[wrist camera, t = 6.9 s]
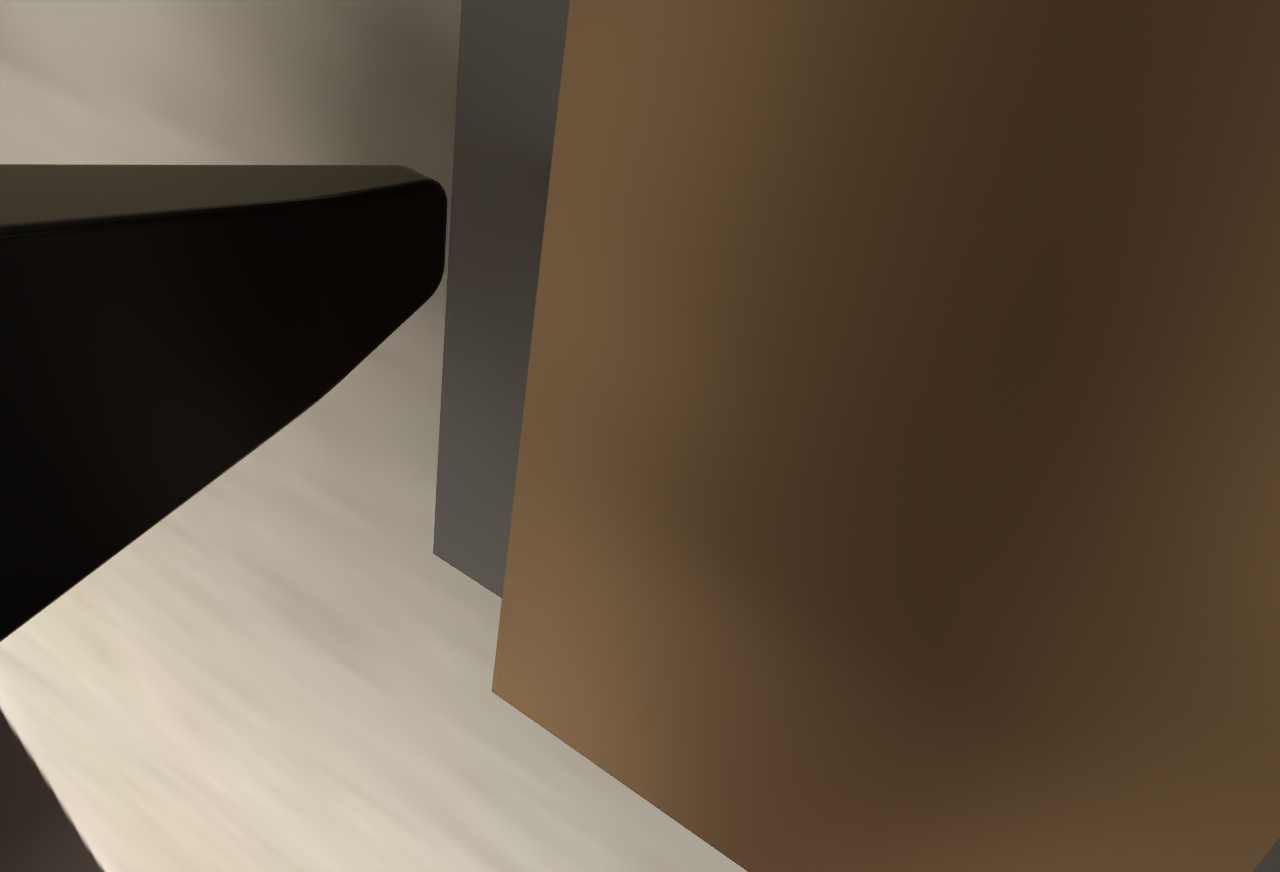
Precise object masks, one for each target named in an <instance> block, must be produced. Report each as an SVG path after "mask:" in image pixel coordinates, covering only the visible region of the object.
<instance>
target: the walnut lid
mask: <svg viewBox="0 0 1280 872" xmlns="http://www.w3.org/2000/svg"><path fill="white" fill-rule="evenodd" d="M492 692H493V693H495V694H496V695H498V696H499V697H500V698H502V699H503V700H505V701H506V702H508V703H509V704H510V705H512V706H513V707H515V708H516V709H518V710H519V711H520V712H522V713H523V714H525V715H526V716H527V717H529V718H530V719H532V720H533V721H535V722H536V723H537V724H539V725H540V726H542V727H543V728H545V729H546V730H547V731H549V732H550V733H552V734H553V735H554V736H556V737H557V738H559V739H560V740H562V741H563V742H564V743H566V744H567V745H569V746H570V747H572V748H573V749H574V750H576V751H577V752H579V753H580V754H582V755H583V756H584V757H586V758H587V759H589V760H590V761H591V762H593V763H594V764H596V765H597V766H599V767H600V768H601V769H603V770H604V771H606V772H607V773H609V774H610V775H611V776H613V777H614V778H616V779H617V780H618V781H620V782H621V783H623V784H624V785H626V786H627V787H628V788H630V789H631V790H633V791H634V792H636V793H637V794H638V795H640V796H641V797H643V798H644V799H645V800H647V801H648V802H650V803H651V804H653V805H654V806H655V807H657V808H658V809H660V810H661V811H663V812H664V813H665V814H667V815H668V816H670V817H671V818H673V819H674V820H675V821H677V822H678V823H680V824H681V825H682V826H684V827H685V828H687V829H688V830H690V831H691V832H692V833H694V834H695V835H697V836H698V837H700V838H701V839H702V840H704V841H705V842H707V843H708V844H709V845H711V846H712V847H714V848H715V849H717V850H718V851H719V852H721V853H722V854H724V855H725V856H727V857H728V858H729V859H731V860H732V861H734V862H735V863H736V864H738V865H739V866H741V867H742V868H744V869H745V870H746V871H748V872H1253V870H1254V869H1255V868H1256V866H1257V865H1258V864H1259V863H1260V861H1261V860H1262V859H1263V858H1264V856H1265V855H1266V854H1267V853H1268V851H1269V850H1270V849H1271V848H1272V846H1273V845H1274V844H1275V843H1276V841H1277V840H1278V839H1279V838H1280V0H570V4H569V13H568V22H567V31H566V40H565V48H564V57H563V66H562V75H561V84H560V93H559V101H558V110H557V119H556V128H555V137H554V146H553V155H552V163H551V172H550V181H549V190H548V199H547V208H546V216H545V225H544V234H543V243H542V252H541V261H540V269H539V278H538V287H537V296H536V305H535V314H534V322H533V331H532V340H531V349H530V358H529V367H528V375H527V384H526V393H525V402H524V411H523V420H522V429H521V437H520V446H519V455H518V464H517V473H516V482H515V490H514V499H513V508H512V517H511V526H510V535H509V543H508V552H507V561H506V570H505V579H504V588H503V596H502V605H501V614H500V623H499V632H498V641H497V649H496V658H495V667H494V676H493V685H492Z"/></svg>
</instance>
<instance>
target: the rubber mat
mask: <svg viewBox="0 0 1280 872" xmlns="http://www.w3.org/2000/svg"><path fill="white" fill-rule="evenodd" d="M569 4H570V0H462V10H461V29H460V48H459V67H458V87H457V106H456V125H455V144H454V163H453V183H452V202H451V221H450V240H449V260H448V279H447V298H446V317H445V336H444V356H443V375H442V394H441V413H440V432H439V452H438V471H437V490H436V509H435V528H434V548H433V554H435V555H436V556H438V557H439V558H441V559H442V560H444V561H446V562H447V563H449V564H450V565H452V566H453V567H455V568H456V569H458V570H459V571H461V572H462V573H464V574H465V575H467V576H469V577H470V578H472V579H473V580H475V581H476V582H478V583H479V584H481V585H482V586H484V587H485V588H487V589H489V590H490V591H492V592H493V593H495V594H496V595H498V596H499V597H501V598H502V596H503V588H504V579H505V570H506V561H507V552H508V543H509V535H510V526H511V517H512V508H513V499H514V490H515V482H516V473H517V464H518V455H519V446H520V437H521V429H522V420H523V411H524V402H525V393H526V384H527V375H528V367H529V358H530V349H531V340H532V331H533V322H534V314H535V305H536V296H537V287H538V278H539V269H540V261H541V252H542V243H543V234H544V225H545V216H546V208H547V199H548V190H549V181H550V172H551V163H552V155H553V146H554V137H555V128H556V119H557V110H558V101H559V93H560V84H561V75H562V66H563V57H564V48H565V40H566V31H567V22H568V13H569ZM1253 872H1280V838H1279V839H1278V840H1277V841H1276V843H1275V844H1274V845H1273V846H1272V848H1271V849H1270V850H1269V851H1268V853H1267V854H1266V855H1265V856H1264V858H1263V859H1262V860H1261V861H1260V863H1259V864H1258V865H1257V866H1256V868H1255V869H1254V870H1253Z"/></svg>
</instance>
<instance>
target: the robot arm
mask: <svg viewBox="0 0 1280 872" xmlns="http://www.w3.org/2000/svg"><path fill="white" fill-rule="evenodd" d="M446 224H447V197H446V193H445V191H444V189H443V187H442V186H441V185H440V184H439V183H438V182H437V181H435V180H433V179H431V178H429V177H427V176H425V175H423V174H421V173H419V172H417V171H415V170H413V169H411V168H409V167H405V166H398V165H25V164H0V642H1V641H2V640H4V639H5V638H6V637H8V636H9V635H10V634H12V633H13V632H14V631H16V630H17V629H18V628H20V627H21V626H22V625H23V624H25V623H26V622H27V621H29V620H30V619H31V618H33V617H34V616H35V615H37V614H38V613H39V612H41V611H42V610H43V609H45V608H46V607H47V606H49V605H50V604H51V603H53V602H54V601H55V600H57V599H58V598H59V597H61V596H62V595H63V594H64V593H66V592H67V591H68V590H70V589H71V588H72V587H74V586H75V585H76V584H78V583H79V582H80V581H82V580H83V579H84V578H86V577H87V576H88V575H90V574H91V573H92V572H94V571H95V570H96V569H98V568H99V567H100V566H102V565H103V564H104V563H106V562H107V561H108V560H109V559H111V558H112V557H113V556H115V555H116V554H117V553H119V552H120V551H121V550H123V549H124V548H125V547H127V546H128V545H129V544H131V543H132V542H133V541H135V540H136V539H137V538H139V537H140V536H141V535H143V534H144V533H145V532H147V531H148V530H149V529H150V528H152V527H153V526H154V525H156V524H157V523H158V522H160V521H161V520H162V519H164V518H165V517H166V516H168V515H169V514H170V513H172V512H173V511H174V510H176V509H177V508H178V507H180V506H181V505H182V504H184V503H185V502H186V501H188V500H189V499H190V498H191V497H193V496H194V495H195V494H197V493H198V492H199V491H201V490H202V489H203V488H205V487H206V486H207V485H209V484H210V483H211V482H213V481H214V480H215V479H217V478H218V477H219V476H221V475H222V474H223V473H225V472H226V471H227V470H229V469H230V468H231V467H233V466H234V465H235V464H236V463H238V462H239V461H240V460H242V459H243V458H244V457H246V456H247V455H248V454H250V453H251V452H252V451H254V450H255V449H256V448H258V447H259V446H260V445H262V444H263V443H264V442H266V441H267V440H268V439H270V438H271V437H272V436H274V435H275V434H276V433H277V432H279V431H280V430H281V429H283V428H284V427H285V426H287V425H288V424H289V423H291V422H292V421H293V420H295V419H296V418H297V417H299V416H300V415H301V414H302V413H304V412H305V411H306V410H307V409H309V408H310V407H311V406H312V405H314V404H315V403H316V402H318V401H319V400H320V399H321V398H322V397H323V396H324V395H326V394H327V393H328V392H329V391H330V390H331V389H332V388H334V387H335V386H336V385H337V384H338V383H339V382H340V381H341V380H342V379H343V378H344V377H346V376H347V375H348V374H349V373H350V372H351V371H352V370H353V369H354V368H355V367H356V366H357V365H358V364H360V363H361V362H362V361H363V360H364V359H365V358H366V357H367V356H368V355H369V354H370V353H371V352H372V351H373V350H375V349H376V348H377V347H378V346H379V345H380V344H381V343H382V342H383V341H384V340H385V339H386V338H387V337H388V336H390V335H391V334H392V333H393V332H394V331H395V330H396V329H397V328H398V327H399V326H400V325H401V324H402V323H404V322H405V321H406V320H407V319H408V318H409V317H410V316H411V315H412V314H413V313H414V312H415V311H416V310H417V309H419V308H420V307H421V306H422V305H423V304H424V303H425V302H426V301H427V300H428V299H429V298H430V297H431V296H432V295H433V294H434V292H435V291H436V289H437V288H438V286H439V284H440V282H441V279H442V276H443V272H444V263H445V243H446Z"/></svg>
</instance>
